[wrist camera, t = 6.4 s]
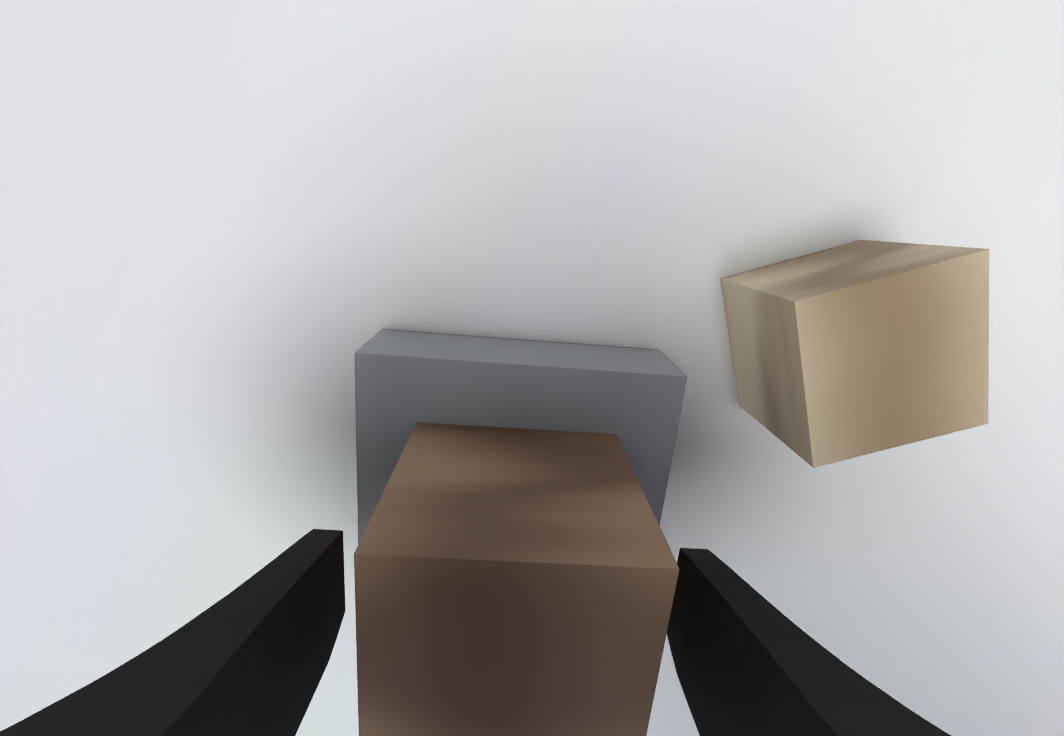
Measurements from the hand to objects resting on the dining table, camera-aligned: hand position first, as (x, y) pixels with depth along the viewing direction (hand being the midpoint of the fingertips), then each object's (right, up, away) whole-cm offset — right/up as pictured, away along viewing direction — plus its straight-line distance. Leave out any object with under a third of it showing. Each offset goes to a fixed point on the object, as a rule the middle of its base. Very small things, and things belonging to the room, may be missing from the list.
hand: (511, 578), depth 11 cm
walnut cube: (0, +1, +3) cm, 3 cm away
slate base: (0, +2, +5) cm, 5 cm away
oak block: (+8, +6, +4) cm, 11 cm away
